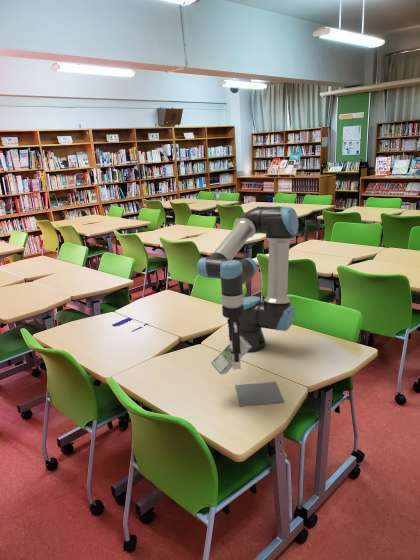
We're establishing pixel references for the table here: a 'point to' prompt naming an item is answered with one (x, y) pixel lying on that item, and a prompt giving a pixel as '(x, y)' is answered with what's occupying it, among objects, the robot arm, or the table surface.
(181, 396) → the table surface
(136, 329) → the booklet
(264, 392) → the mat
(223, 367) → the syrup box
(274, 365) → the table surface
